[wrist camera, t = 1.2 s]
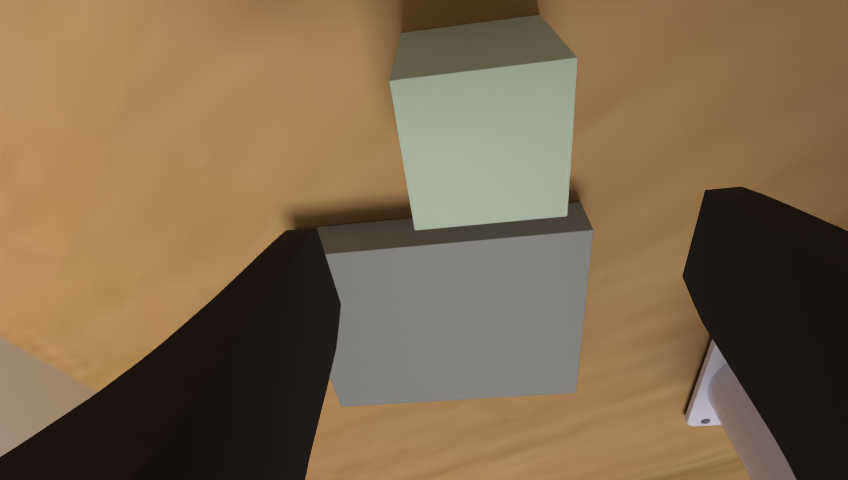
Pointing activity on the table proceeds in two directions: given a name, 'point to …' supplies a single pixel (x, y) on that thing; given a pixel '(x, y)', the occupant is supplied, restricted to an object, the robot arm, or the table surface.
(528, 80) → the sage cube
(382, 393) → the slate plinth
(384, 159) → the table surface
